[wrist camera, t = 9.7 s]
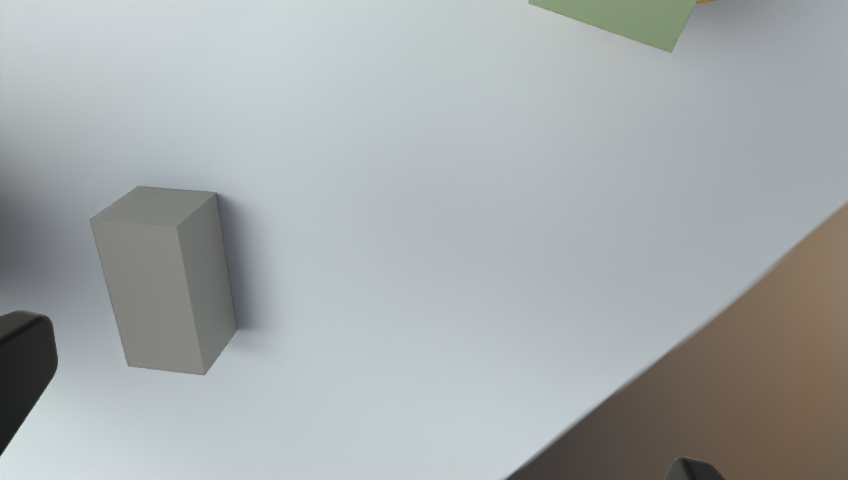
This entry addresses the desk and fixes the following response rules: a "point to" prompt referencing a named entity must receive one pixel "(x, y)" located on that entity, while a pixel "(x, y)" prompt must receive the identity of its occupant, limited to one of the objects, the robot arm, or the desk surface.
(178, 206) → the slate brick
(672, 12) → the sage brick
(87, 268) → the desk surface
